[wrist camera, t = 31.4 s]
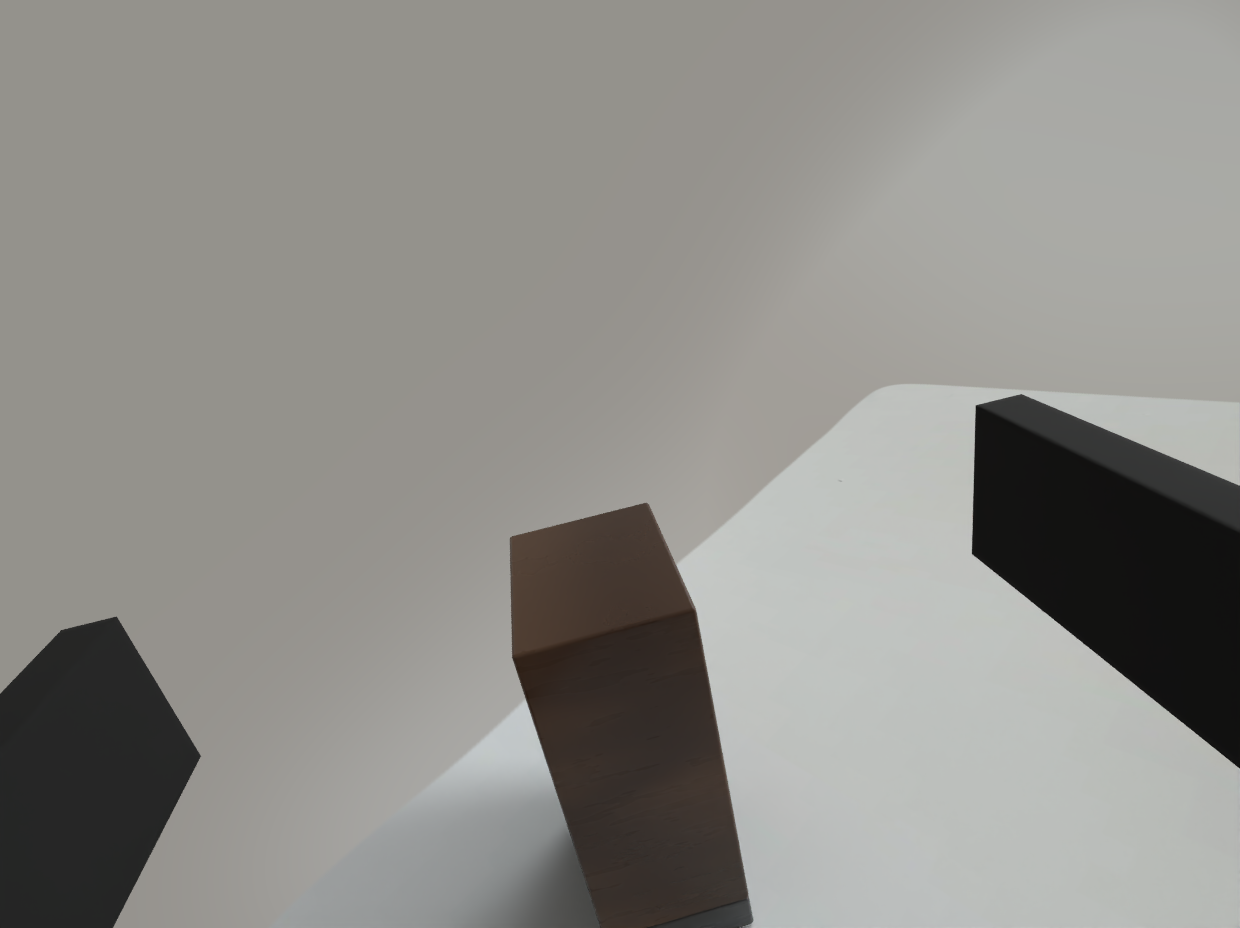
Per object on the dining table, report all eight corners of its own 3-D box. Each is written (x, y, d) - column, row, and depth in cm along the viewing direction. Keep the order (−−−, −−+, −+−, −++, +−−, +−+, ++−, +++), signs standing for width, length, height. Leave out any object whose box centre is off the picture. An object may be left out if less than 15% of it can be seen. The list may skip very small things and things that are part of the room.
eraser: (612, 966, 21) (511, 657, 16) (589, 802, 26) (509, 535, 22) (754, 924, 21) (696, 608, 16) (702, 771, 27) (648, 501, 22)
